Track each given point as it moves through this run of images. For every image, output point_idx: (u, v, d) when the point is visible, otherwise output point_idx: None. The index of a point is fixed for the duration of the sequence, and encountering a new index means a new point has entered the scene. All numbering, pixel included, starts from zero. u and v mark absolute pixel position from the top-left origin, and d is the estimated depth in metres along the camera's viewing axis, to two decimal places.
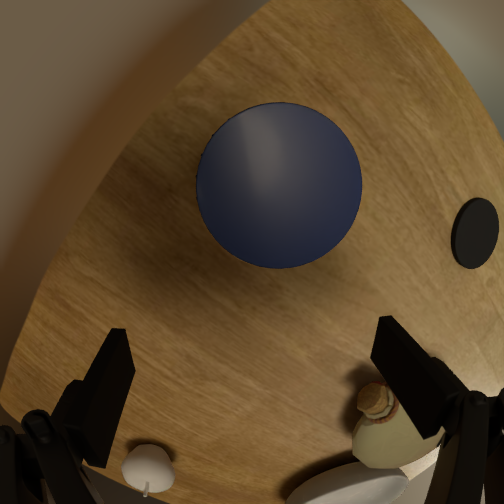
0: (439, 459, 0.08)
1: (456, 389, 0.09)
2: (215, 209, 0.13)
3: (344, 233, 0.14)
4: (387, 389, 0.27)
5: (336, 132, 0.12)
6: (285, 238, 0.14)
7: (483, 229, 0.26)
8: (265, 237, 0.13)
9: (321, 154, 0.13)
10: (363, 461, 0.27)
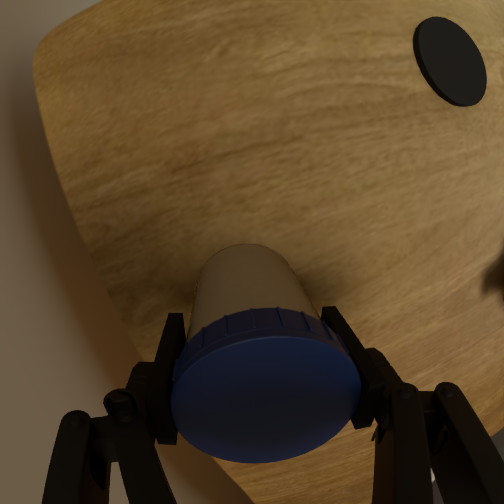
0: (377, 456, 0.09)
1: (383, 379, 0.10)
2: (251, 456, 0.11)
3: (356, 377, 0.10)
4: None
5: (240, 349, 0.09)
6: (316, 425, 0.11)
7: (453, 50, 0.16)
8: (302, 436, 0.11)
9: (257, 374, 0.10)
10: None
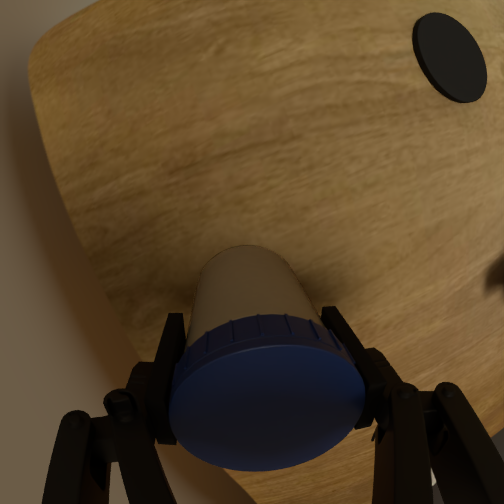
0: (377, 456, 0.09)
1: (383, 379, 0.10)
2: (346, 388, 0.10)
3: (174, 400, 0.09)
4: None
5: (226, 465, 0.11)
6: (254, 383, 0.09)
7: (453, 46, 0.15)
8: (281, 379, 0.09)
9: (235, 451, 0.10)
10: None
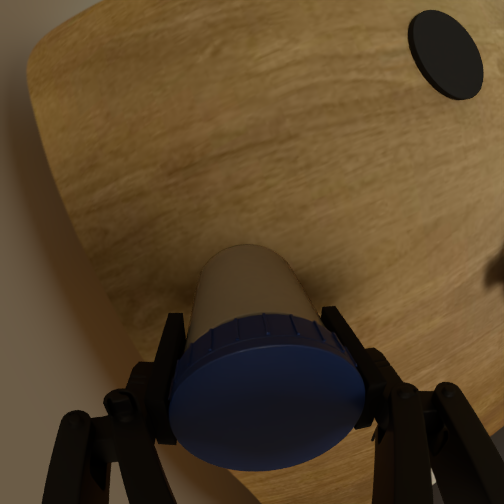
0: (377, 456, 0.09)
1: (383, 379, 0.10)
2: (187, 410, 0.09)
3: (291, 465, 0.11)
4: None
5: (359, 400, 0.10)
6: (237, 453, 0.10)
7: (449, 43, 0.15)
8: (220, 446, 0.10)
9: (328, 413, 0.10)
10: None
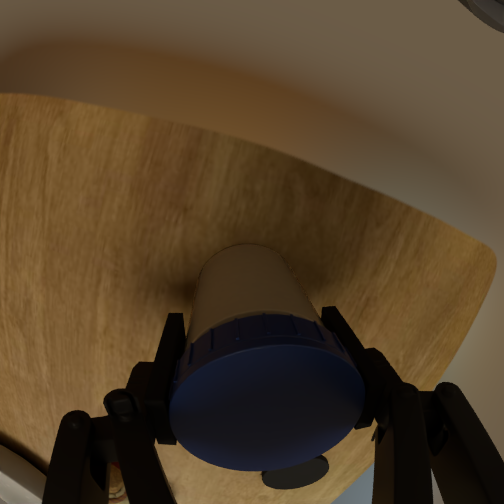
0: (377, 456, 0.09)
1: (383, 379, 0.10)
2: (187, 410, 0.09)
3: (291, 465, 0.11)
4: None
5: (359, 401, 0.10)
6: (237, 453, 0.10)
7: (302, 475, 0.28)
8: (220, 446, 0.10)
9: (328, 413, 0.10)
10: None
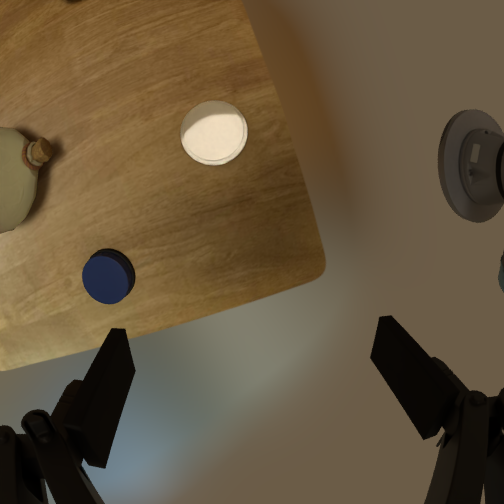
0: (439, 459, 0.08)
1: (456, 389, 0.09)
2: (86, 274, 0.39)
3: (115, 302, 0.41)
4: (41, 163, 0.32)
5: (125, 276, 0.40)
6: (99, 293, 0.40)
7: None
8: (94, 289, 0.40)
9: (118, 279, 0.40)
10: None
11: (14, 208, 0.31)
